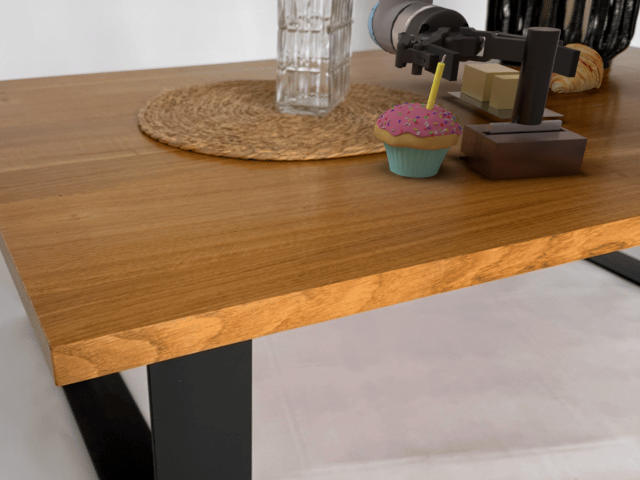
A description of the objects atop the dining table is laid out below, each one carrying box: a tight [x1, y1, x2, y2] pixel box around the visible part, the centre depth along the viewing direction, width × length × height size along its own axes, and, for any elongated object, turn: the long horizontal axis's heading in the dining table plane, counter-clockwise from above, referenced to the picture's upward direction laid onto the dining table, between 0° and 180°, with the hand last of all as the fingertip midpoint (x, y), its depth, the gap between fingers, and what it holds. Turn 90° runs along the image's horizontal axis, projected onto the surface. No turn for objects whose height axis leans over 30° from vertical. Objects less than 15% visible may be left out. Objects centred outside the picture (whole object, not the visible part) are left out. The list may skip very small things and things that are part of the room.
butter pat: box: [489, 75, 519, 110], centre depth 92 cm, size 2×5×4 cm, turn 101°
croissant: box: [549, 42, 605, 94], centre depth 109 cm, size 21×10×8 cm, turn 154°
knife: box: [488, 26, 563, 135], centre depth 70 cm, size 8×3×14 cm, turn 101°
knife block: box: [458, 123, 589, 180], centre depth 72 cm, size 10×7×4 cm
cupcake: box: [373, 55, 463, 179], centre depth 69 cm, size 9×8×12 cm
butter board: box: [446, 62, 565, 120], centre depth 94 cm, size 16×9×5 cm, turn 11°
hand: (516, 66), depth 71 cm, fingers open, 13 cm apart
